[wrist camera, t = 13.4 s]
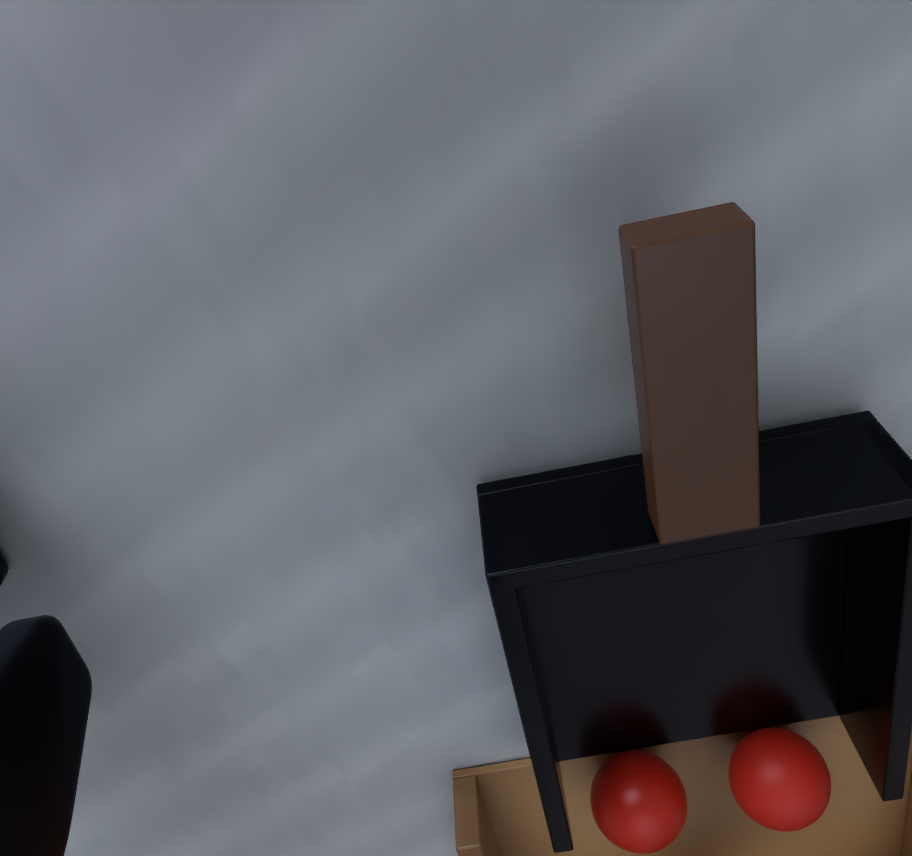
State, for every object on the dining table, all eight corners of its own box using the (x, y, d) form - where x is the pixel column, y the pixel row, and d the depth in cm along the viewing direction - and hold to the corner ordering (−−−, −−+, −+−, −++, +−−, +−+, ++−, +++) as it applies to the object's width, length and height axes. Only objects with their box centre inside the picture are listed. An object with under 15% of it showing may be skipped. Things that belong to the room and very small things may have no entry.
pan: (415, 225, 18) (414, 291, 15) (887, 125, 18) (985, 173, 15) (539, 752, 28) (554, 857, 25) (850, 700, 27) (905, 802, 24)
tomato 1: (583, 768, 29) (602, 866, 28) (579, 749, 27) (599, 854, 25) (671, 754, 29) (695, 851, 27) (675, 733, 27) (702, 839, 25)
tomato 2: (712, 745, 29) (739, 843, 27) (721, 727, 26) (751, 833, 25) (802, 730, 29) (834, 828, 27) (820, 710, 26) (856, 817, 25)
